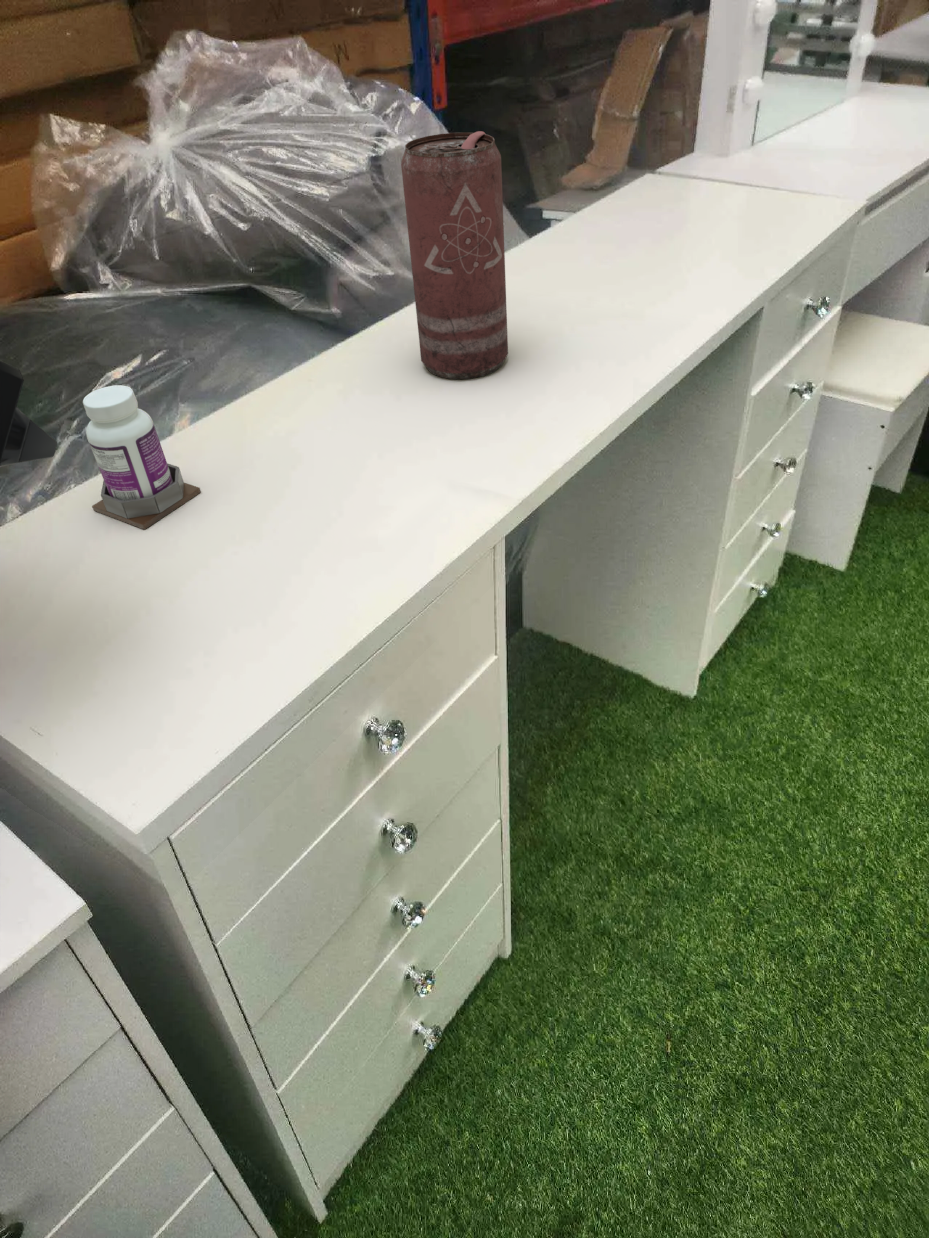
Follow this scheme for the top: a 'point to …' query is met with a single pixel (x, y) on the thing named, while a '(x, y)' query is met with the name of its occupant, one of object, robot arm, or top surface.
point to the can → (457, 252)
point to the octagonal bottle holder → (148, 502)
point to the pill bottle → (125, 444)
